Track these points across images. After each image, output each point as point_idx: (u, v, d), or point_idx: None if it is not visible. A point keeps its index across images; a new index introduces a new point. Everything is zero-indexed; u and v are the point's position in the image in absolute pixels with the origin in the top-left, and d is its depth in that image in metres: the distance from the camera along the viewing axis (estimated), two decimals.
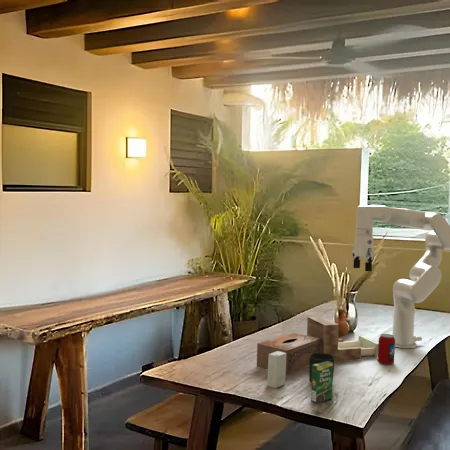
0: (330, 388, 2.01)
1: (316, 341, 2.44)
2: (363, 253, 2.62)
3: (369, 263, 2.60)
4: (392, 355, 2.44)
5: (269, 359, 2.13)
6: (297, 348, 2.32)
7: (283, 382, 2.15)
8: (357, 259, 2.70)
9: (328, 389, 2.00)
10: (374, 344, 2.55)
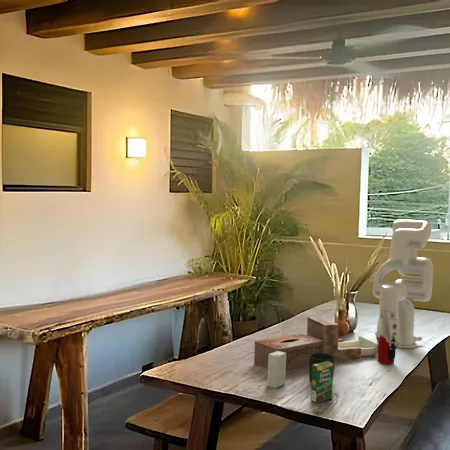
0: (330, 388, 2.01)
1: (318, 343, 2.41)
2: (387, 338, 2.42)
3: (392, 350, 2.42)
4: None
5: (269, 359, 2.13)
6: (292, 348, 2.32)
7: (283, 382, 2.15)
8: None
9: (328, 389, 2.00)
10: (374, 344, 2.55)
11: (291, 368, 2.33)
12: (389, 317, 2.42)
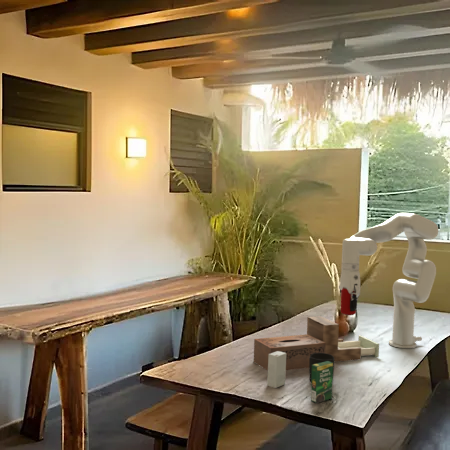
0: (330, 388, 2.01)
1: (318, 344, 2.38)
2: (349, 289, 2.51)
3: (354, 301, 2.51)
4: None
5: (269, 359, 2.13)
6: (287, 348, 2.32)
7: (283, 382, 2.15)
8: None
9: (328, 389, 2.00)
10: (374, 344, 2.55)
11: (286, 368, 2.33)
12: (351, 269, 2.51)
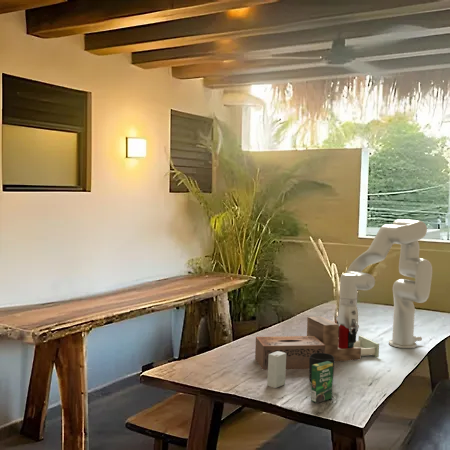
0: (330, 388, 2.01)
1: (316, 346, 2.36)
2: (347, 324, 2.52)
3: (353, 335, 2.51)
4: (351, 343, 2.54)
5: (269, 359, 2.13)
6: (281, 347, 2.33)
7: (283, 382, 2.15)
8: None
9: (328, 389, 2.00)
10: (374, 344, 2.55)
11: None
12: (348, 304, 2.52)
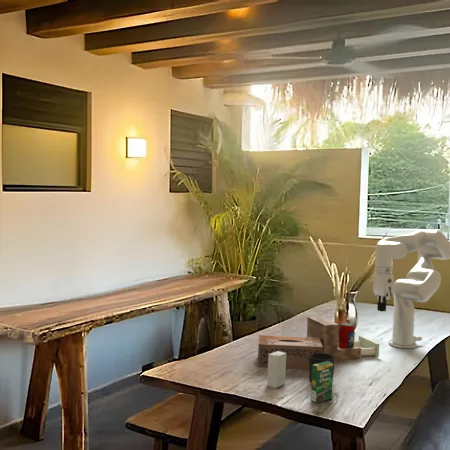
0: (330, 388, 2.01)
1: (313, 348, 2.33)
2: (383, 292, 2.57)
3: (383, 303, 2.60)
4: (351, 343, 2.55)
5: (269, 359, 2.13)
6: (277, 346, 2.34)
7: (283, 382, 2.15)
8: None
9: (328, 389, 2.00)
10: (374, 344, 2.55)
11: None
12: (384, 272, 2.57)
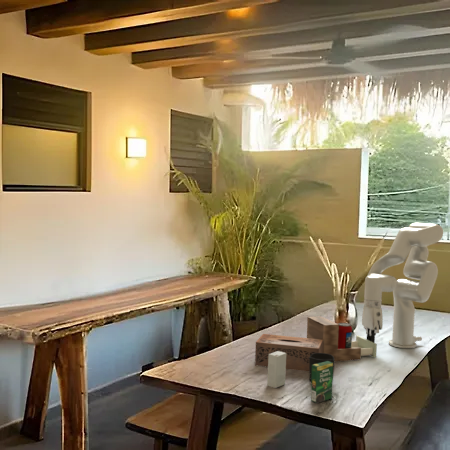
0: (330, 388, 2.01)
1: (309, 349, 2.32)
2: (372, 325, 2.56)
3: (372, 336, 2.59)
4: (349, 343, 2.54)
5: (269, 359, 2.13)
6: (273, 345, 2.36)
7: (283, 382, 2.15)
8: None
9: (328, 389, 2.00)
10: (371, 344, 2.55)
11: None
12: (373, 306, 2.56)
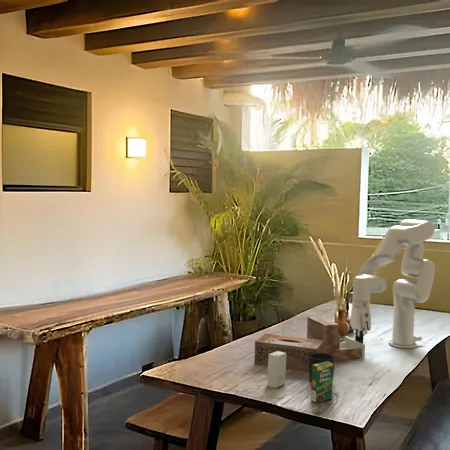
0: (330, 388, 2.01)
1: (307, 349, 2.31)
2: (360, 326, 2.54)
3: (360, 337, 2.57)
4: None
5: (269, 359, 2.13)
6: (272, 345, 2.36)
7: (283, 382, 2.15)
8: None
9: (328, 389, 2.00)
10: (360, 345, 2.53)
11: None
12: (361, 306, 2.54)
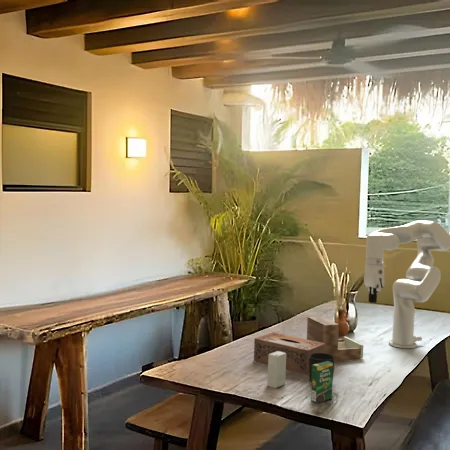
0: (330, 388, 2.01)
1: (300, 350, 2.30)
2: (373, 283, 2.55)
3: (374, 295, 2.58)
4: None
5: (269, 359, 2.13)
6: (269, 343, 2.39)
7: (283, 382, 2.15)
8: None
9: (328, 389, 2.00)
10: (358, 345, 2.53)
11: None
12: (375, 263, 2.55)
